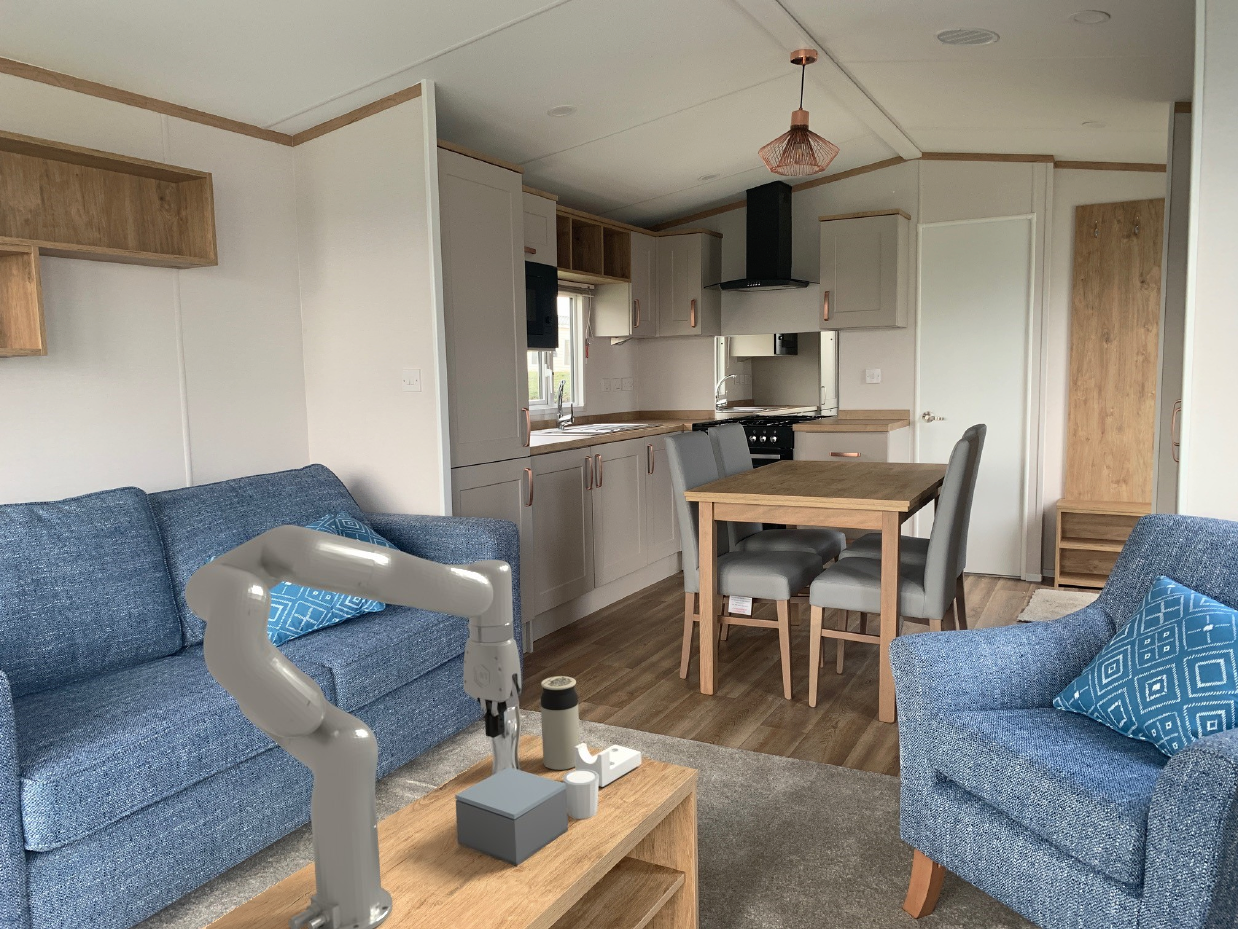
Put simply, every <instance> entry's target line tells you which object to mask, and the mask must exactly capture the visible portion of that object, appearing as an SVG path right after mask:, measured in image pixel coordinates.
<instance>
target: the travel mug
mask: <svg viewBox="0 0 1238 929" xmlns="http://www.w3.org/2000/svg"><path fill="white" fill-rule="evenodd" d="M576 684H577V680H576V679H575V678H573V677H572V676H571V677H570V676H564V675H563V676H562V675H559V676H551V677H547V678H546V679H543V680H542V681H541V684H540V685H541V687H542V691H543V692H542V693H541V696H540V715H541V716H540V718H541V720H540V721H541V735H542V736H541V739H542V740H541V741H542V758H543V760H542V762H543V765H544V766H545V767H546V768H547V769H551V770H554V771H555V770H556V771H557V770H558V771H565V770H570V769H573V768H574V767H575V746H577V745H579V744H581V741H580V740H581V739H580V717H579V716H580V715H579V696H578V693H577V691H576V690H575V686H576Z"/></svg>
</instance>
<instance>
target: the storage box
mask: <svg viewBox="0 0 1238 929" xmlns="http://www.w3.org/2000/svg"><path fill="white" fill-rule="evenodd" d="M455 814H456V816H455V817H456V834H457V845H460V846H463V847H465V848H467V849H470V850H472V851H475V852H478V853H481V854H484V855H485V856H488V857H492V858H494V859H497V860H499V861H502V862H504V863H507V864H509V865H512V866H516V867H518V866H519V865H520V864H522V863H524V862H525V861H526V860H528V859H529V858H531V857H532V856H534V855H535V854H537V853H538V852H539V851H541V850H542V849H544V848H545V847H546V846H547V845H549V844H551V843H552V842H553V841H555V840H556V839H558V838H559V837H561V836H562V835H563V834H565V833H567V832H568V831H569V828H568V827H569V822H568V811H567V795H566V789H564V790H562V791H561V792H559V793H557V794H556V795H554V796H552V797H551V798H549V799H547V800H546V801H544V802H543V803H541V804H539V805H538V806H536V807H534V808H533V809H531V810H529V811H528V812H526V813H524V814H523V815H521V816H519V817H518V818H516V819H512V818H509V817H506V816H503V815H500V814H497V813H494V812H491V811H488V810H485V809H483V808H480V807H477V806H474V805H471V804H468V803H465V802H462V801H459V800H456V799H455Z"/></svg>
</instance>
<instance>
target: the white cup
mask: <svg viewBox="0 0 1238 929" xmlns="http://www.w3.org/2000/svg"><path fill="white" fill-rule="evenodd" d="M562 780H563V781H562V783H565V784H566V795H567V816H569V817H570V818H572V819H577V820H586V819H591V818H592V817H594V816H595V815H596V814H597V813H598V802H599V801H598V800H599V798H598V797H599V786H598V785H599V775H598V773H597V772H595V771H593V770H587V769H578V770H575V769H574V770H570V771H568V772H566V773H565V774H564V775H563V778H562Z"/></svg>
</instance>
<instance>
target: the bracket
mask: <svg viewBox="0 0 1238 929" xmlns="http://www.w3.org/2000/svg"><path fill="white" fill-rule="evenodd" d="M640 765H642V752H641V751H638V750H635V749H631V748H629V747H626V746H621V745H619V744H613V745H611V746H609V747H607V748H606V749H604V750H602V751H599V752H598V753H596V754H594V755H593V756H592V755H591V753H590V752H589V749H588V746H587V743H585V742H580V744H579V745H577V746H575V769H574V770H578V769H587V770H593V771H595V772H597V773H598V775H599V785H598V787H602V788H603V787H605V786H607V785H608V784H610V783H612V782H613V781H615V780H618V778H620V777H623V775H625V774H627V773H629V772H630V771H632V770H634V769H635V768H637V767H638V766H640Z"/></svg>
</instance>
